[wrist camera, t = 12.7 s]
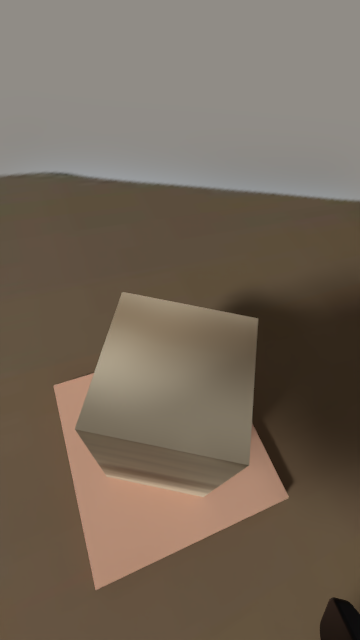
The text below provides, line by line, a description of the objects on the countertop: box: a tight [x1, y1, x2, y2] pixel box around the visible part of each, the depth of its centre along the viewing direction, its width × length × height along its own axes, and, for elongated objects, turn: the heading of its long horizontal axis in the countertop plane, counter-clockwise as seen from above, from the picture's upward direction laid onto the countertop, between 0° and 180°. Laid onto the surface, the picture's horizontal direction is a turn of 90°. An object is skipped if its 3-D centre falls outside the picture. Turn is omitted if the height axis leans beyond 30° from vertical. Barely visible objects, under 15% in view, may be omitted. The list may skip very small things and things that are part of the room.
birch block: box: [75, 292, 258, 497], centre depth 16 cm, size 6×6×10 cm
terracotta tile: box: [54, 373, 289, 590], centre depth 21 cm, size 11×11×1 cm
